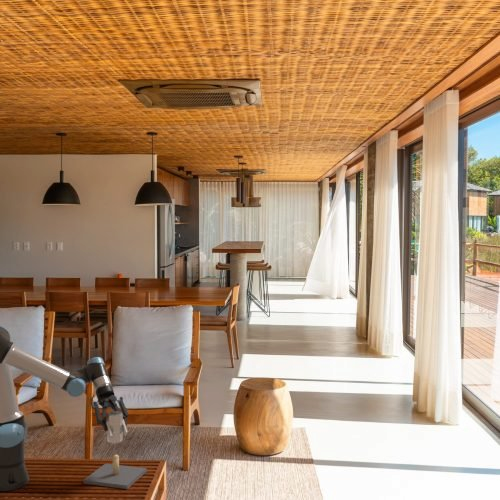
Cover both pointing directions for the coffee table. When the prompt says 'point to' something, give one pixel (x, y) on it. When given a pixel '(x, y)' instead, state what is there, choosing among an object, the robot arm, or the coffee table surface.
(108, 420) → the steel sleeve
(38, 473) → the coffee table surface
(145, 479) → the coffee table surface
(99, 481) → the post plate
